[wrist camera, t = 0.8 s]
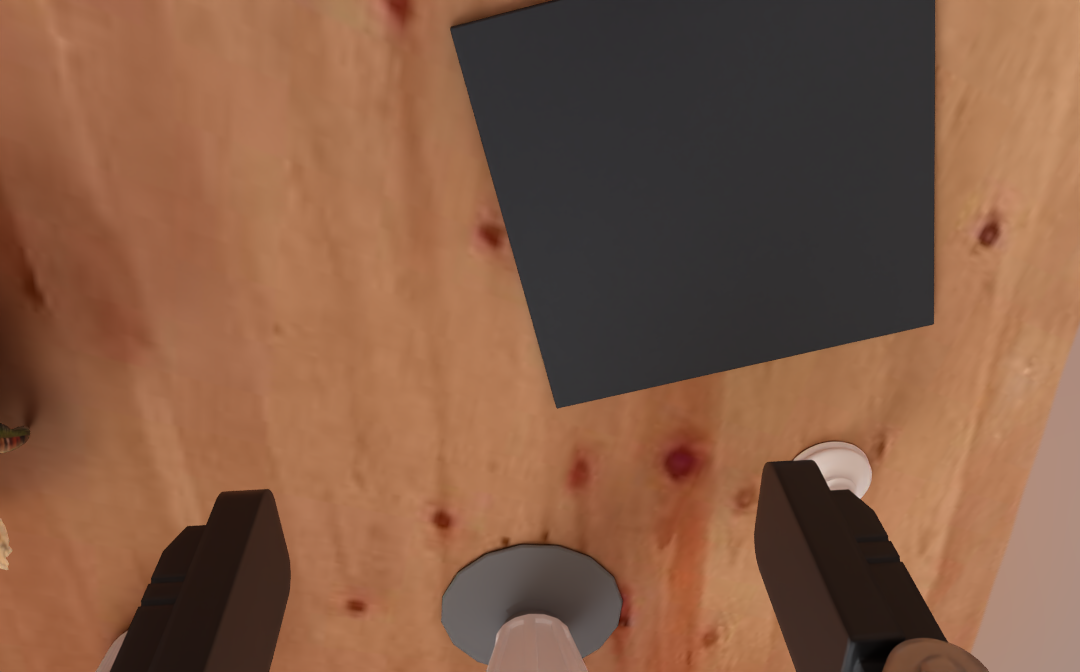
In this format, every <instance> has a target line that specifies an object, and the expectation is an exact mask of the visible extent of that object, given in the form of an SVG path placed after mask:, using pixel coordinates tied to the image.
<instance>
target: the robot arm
mask: <svg viewBox="0 0 1080 672" xmlns="http://www.w3.org/2000/svg"><path fill="white" fill-rule="evenodd" d="M754 543H755V553H756V559H757V563H758V567H759V570H760V573H761V576H762V579H763V581H764V584H765V587H766V590H767V592H768V595H769V598H770V601H771V603H772V606H773V609H774V612H775V614H776V617H777V620H778V623H779V625H780V628H781V631H782V634H783V636H784V639H785V642H786V645H787V647H788V650H789V653H790V656H791V658H792V661H793V664H794V667H795V669H796V672H989V671H988V669H987V668H986V667H985V666H984V665H983V664H982V663H981V662H980V661H979V660H978V659H976V658H975V657H974V656H973V655H971V654H970V653H968V652H967V651H965V650H964V649H962V648H960V647H958V646H956V645H954V644H951V643H948V641H947V640H946V638H945V637H944V635H943V633H942V631H941V630H940V628H939V626H938V624H937V622H936V621H935V619H934V617H933V615H932V613H931V612H930V610H929V608H928V606H927V605H926V603H925V601H924V599H923V597H922V596H921V594H920V592H919V590H918V589H917V587H916V585H915V583H914V581H913V580H912V578H911V576H910V574H909V572H908V571H907V569H906V567H905V565H904V564H903V562H900V556H899V555H898V553H897V551H896V549H895V548H894V546H893V544H892V542H891V541H889V540H888V535H887V533H886V531H885V530H884V528H883V526H882V524H881V523H880V521H879V519H878V517H877V515H876V514H875V512H874V510H872V509H871V508H870V507H869V506H868V505H867V504H865V503H864V502H863V501H862V500H861V499H860V498H858V497H857V496H856V495H855V494H854V493H853V492H851V491H850V490H849V489H845V490H830V488H829V487H828V485H827V483H826V481H825V479H824V477H823V475H822V473H821V471H820V469H819V467H818V465H817V464H816V463H815V461H813V460H795V461H777V462H767V463H766V464H765V465H764V468H763V473H762V480H761V487H760V494H759V501H758V509H757V516H756V523H755V531H754ZM290 579H291V570H290V559H289V554H288V550H287V546H286V542H285V538H284V534H283V531H282V527H281V523H280V519H279V515H278V511H277V507H276V503H275V499H274V496H273V494H272V492H271V491H270V490H269V489H262V490H245V491H227V492H221V493H220V494H219V496H218V497H217V499H216V502H215V504H214V507H213V509H212V512H211V514H210V517H209V519H208V522H207V524H206V525H201V526H187V527H186V528H185V529H184V530H183V531H182V532H181V533H180V534H179V535H178V536H177V537H176V538H175V539H174V540H173V541H172V543H171V544H170V545H169V546H168V547H167V548H166V549H165V550H164V551H163V553H162V555H161V557H160V559H159V562H158V564H157V566H156V568H155V571H154V573H153V575H152V577H151V584H148V586H147V589H146V591H145V593H144V595H143V598H142V600H141V607H138V609H137V611H136V613H135V616H134V618H133V620H132V622H131V625H130V627H129V629H128V631H127V634H126V636H125V638H124V640H123V643H122V645H121V647H120V650H119V652H118V654H117V656H116V659H115V661H114V663H113V665H112V668H111V670H110V672H269V670H270V666H271V662H272V659H273V655H274V651H275V647H276V643H277V639H278V635H279V631H280V627H281V624H282V620H283V616H284V612H285V608H286V604H287V600H288V596H289V590H290Z"/></svg>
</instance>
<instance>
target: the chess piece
mask: <svg viewBox="0 0 1080 672" xmlns="http://www.w3.org/2000/svg"><path fill="white" fill-rule="evenodd" d="M795 460H813V461H815V463H816V464H817V465H818V467H819V469H820V471H821V473H822V475H823V477H824V479H825V481H826V483H827V485H828V487H829V488H830V490H845V489H849V490H850V491H851V492H853V493H854V494H855V495H856V496H857V497H858V498H860V499H861V498H862V496H863V495H864V494H865V493H866V491H867V490H868V488H869V486H870V483H871V479H872V471H871V467H870V464H869V461H868V458H867V457H866V455H865V453H864V452H863V451H862V450H861V449H859V448H858V447H856V446H854V445H852V444H849V443H845V442H825V443H821V444H818V445H815V446H812V447H810V448H808V449H806V450H805V451H803V452H802V453H800V454H799V455H798V456H797V457H796V458H795V459H794V460H793V461H795Z"/></svg>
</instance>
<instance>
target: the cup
mask: <svg viewBox="0 0 1080 672" xmlns="http://www.w3.org/2000/svg"><path fill="white" fill-rule="evenodd" d="M622 602H623V601H622V598H621V595H620V593H619V590H618V587H617V585H616V582H615V579H614V577H613V576H612V575H611V574H609V573H608V572H607V571H606V570H605V569H604V568H602V567H601V566H600V565H599V564H598V563H597V562H596V561H594V560H593V559H592V558H591V557H589V556H586V555H584V554H581V553H578V552H575V551H572V550H569V549H566V548H564V547H561V546H557V545H524V544H521V545H517V546H514V547H510V548H506V549H502V550H499V551H495V552H491V553H487V554H485V555H484V556H482V557H481V558H479V559H478V560H476V561H475V562H473V563H472V564H470V565H469V566H467V567H466V568H464V569H463V570H461V571H460V572H458V574H457V575H456V577H455V578H454V580H453V581H452V583H451V584H450V586H449V587H448V589H447V591H446V592H445V594H444V595H443V597H442V619H441V622H442V624H443V626H444V628H445V629H446V631H447V633H448V635H449V637H450V638H451V640H452V642H453V644H454V645H455V646H457V647H458V648H459V649H461V650H462V651H464V652H465V653H466V654H468V655H469V656H470V657H472V658H473V659H475V660H476V661H477V662H480V663H483V664H487V665H488V667H487V670H486V672H588V670H587V667H586V665H585V663H584V661H583V659H582V658H584V657H585V656H587V655H589V654H591V653H592V652H594V651H596V650H597V649H599V648H600V647H601V646H602V645H603V644H604V642H605V641H606V640H607V639H608V637H609V636H610V635H611V634H612V632H613V631H614V630H615V629H616V627H617V626H618V623H619V618H620V612H621V607H622Z"/></svg>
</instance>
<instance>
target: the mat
mask: <svg viewBox="0 0 1080 672" xmlns="http://www.w3.org/2000/svg"><path fill="white" fill-rule="evenodd" d="M450 31H451V34H452V38H453V41H454V45H455V48H456V52H457V55H458V59H459V63H460V66H461V70H462V73H463V77H464V80H465V84H466V87H467V91H468V95H469V98H470V102H471V105H472V109H473V112H474V116H475V119H476V123H477V127H478V130H479V134H480V137H481V141H482V144H483V148H484V152H485V155H486V159H487V162H488V166H489V169H490V173H491V176H492V180H493V184H494V187H495V191H496V194H497V198H498V201H499V205H500V208H501V212H502V216H503V219H504V223H505V226H506V230H507V233H508V237H509V240H510V244H511V248H512V251H513V255H514V258H515V262H516V265H517V269H518V273H519V276H520V280H521V283H522V287H523V290H524V294H525V297H526V301H527V305H528V308H529V312H530V315H531V319H532V322H533V326H534V329H535V333H536V337H537V340H538V344H539V347H540V351H541V354H542V358H543V361H544V365H545V369H546V372H547V376H548V379H549V383H550V386H551V390H552V394H553V397H554V401H555V404H556V408H561V407H566V406H570V405H575V404H579V403H584V402H588V401H593V400H597V399H602V398H606V397H611V396H615V395H620V394H624V393H628V392H633V391H637V390H642V389H646V388H651V387H655V386H660V385H664V384H669V383H673V382H678V381H682V380H687V379H691V378H696V377H700V376H705V375H709V374H713V373H718V372H722V371H727V370H731V369H736V368H740V367H745V366H749V365H754V364H758V363H763V362H767V361H772V360H776V359H781V358H785V357H789V356H794V355H798V354H803V353H807V352H812V351H816V350H821V349H825V348H830V347H834V346H839V345H843V344H848V343H852V342H857V341H861V340H866V339H870V338H874V337H879V336H883V335H888V334H892V333H897V332H901V331H906V330H910V329H915V328H919V327H924V326H928V325H933V324H934V157H935V0H552V1H548V2H545V3H541V4H537V5H533V6H529V7H526V8H522V9H518V10H514V11H510V12H506V13H503V14H499V15H495V16H491V17H487V18H483V19H480V20H476V21H472V22H468V23H464V24H460V25H457V26H453V27H451V28H450Z"/></svg>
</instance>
